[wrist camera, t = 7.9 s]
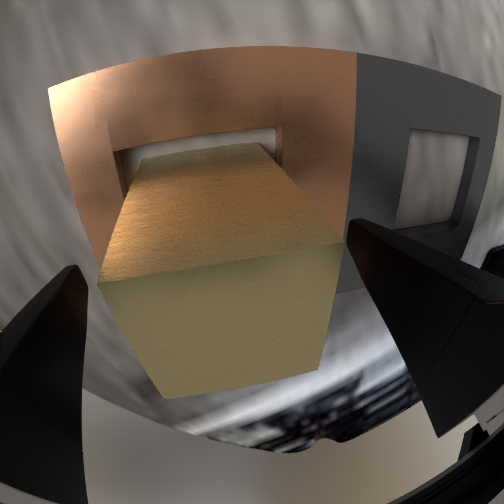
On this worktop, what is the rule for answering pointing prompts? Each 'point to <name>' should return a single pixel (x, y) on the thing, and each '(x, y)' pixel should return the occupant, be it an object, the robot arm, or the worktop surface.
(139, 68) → the frame with rectangular openings
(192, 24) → the worktop surface
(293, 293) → the wooden block
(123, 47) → the worktop surface
